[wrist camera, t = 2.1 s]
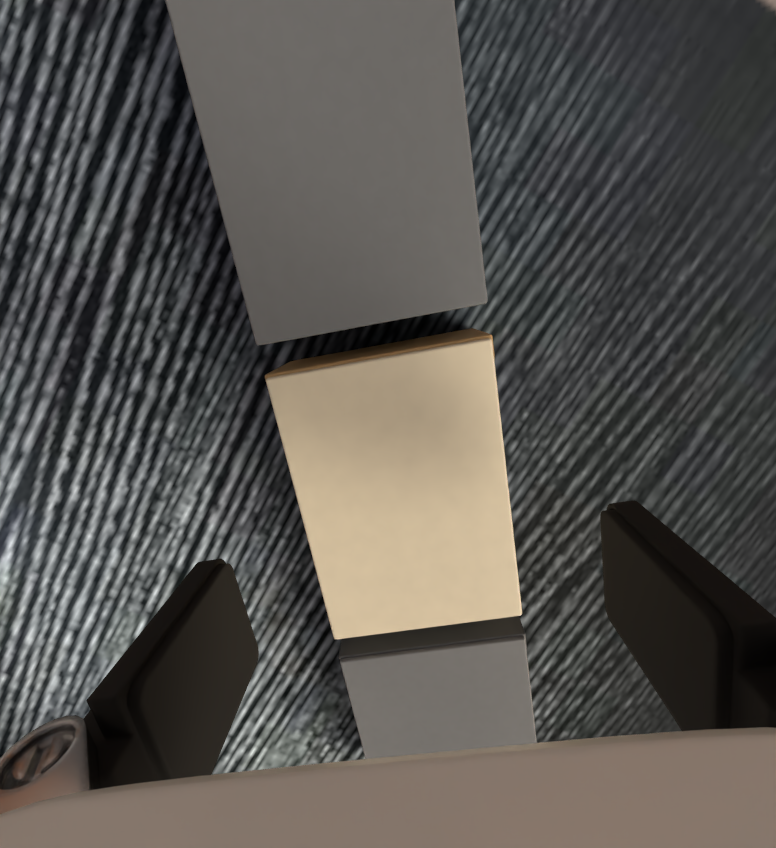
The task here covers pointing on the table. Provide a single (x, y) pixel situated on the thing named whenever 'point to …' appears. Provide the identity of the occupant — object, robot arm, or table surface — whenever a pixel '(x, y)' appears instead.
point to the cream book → (402, 482)
